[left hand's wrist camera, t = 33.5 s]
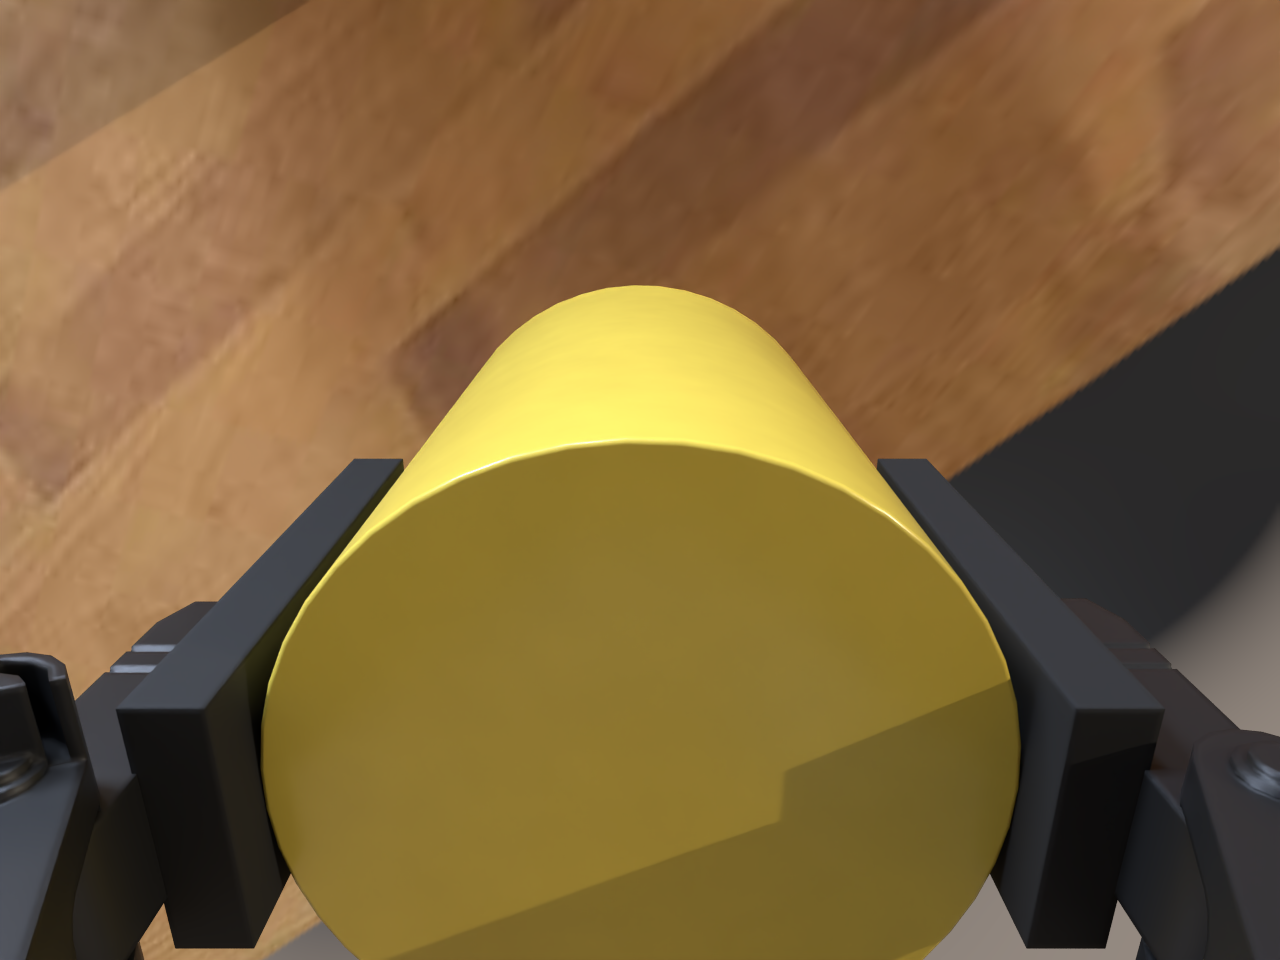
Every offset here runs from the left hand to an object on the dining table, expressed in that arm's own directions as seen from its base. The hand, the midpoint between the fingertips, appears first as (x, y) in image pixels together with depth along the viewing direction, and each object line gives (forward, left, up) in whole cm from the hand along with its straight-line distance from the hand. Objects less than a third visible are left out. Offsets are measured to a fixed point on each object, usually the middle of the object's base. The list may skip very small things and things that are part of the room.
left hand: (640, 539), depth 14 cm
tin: (0, 0, -4) cm, 4 cm away
